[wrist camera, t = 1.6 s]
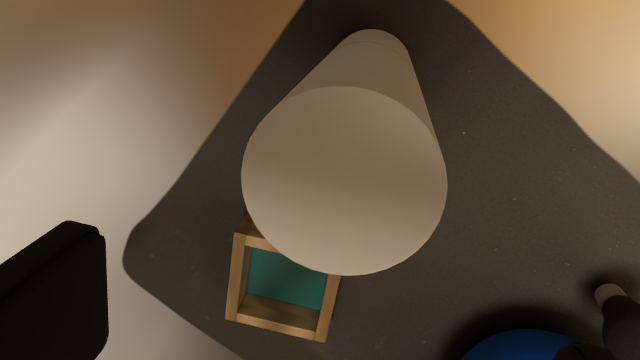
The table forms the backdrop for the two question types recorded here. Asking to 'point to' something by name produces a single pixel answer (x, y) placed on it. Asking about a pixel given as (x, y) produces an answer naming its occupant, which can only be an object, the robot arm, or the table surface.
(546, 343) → the vase
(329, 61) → the cylindrical container
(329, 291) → the square wooden tray
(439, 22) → the table surface
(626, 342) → the light bulb
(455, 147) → the table surface
